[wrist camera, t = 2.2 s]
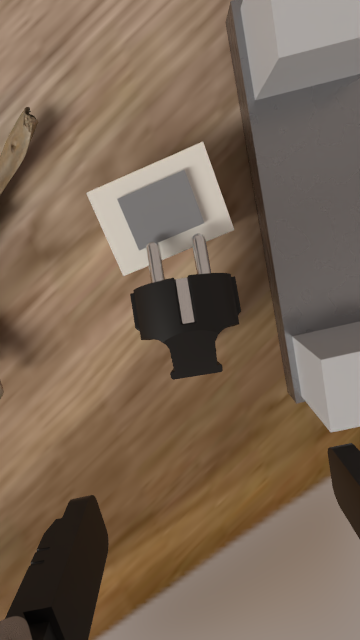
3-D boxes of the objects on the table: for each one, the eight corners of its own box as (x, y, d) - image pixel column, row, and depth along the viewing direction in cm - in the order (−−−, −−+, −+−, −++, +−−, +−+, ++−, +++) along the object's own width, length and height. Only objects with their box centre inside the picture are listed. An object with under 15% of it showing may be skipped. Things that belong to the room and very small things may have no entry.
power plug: (160, 368, 27) (136, 391, 15) (146, 277, 27) (111, 229, 15) (229, 357, 27) (260, 371, 15) (213, 266, 27) (231, 208, 15)
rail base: (225, 22, 22) (230, 0, 20) (347, -10, 21) (364, -35, 19) (287, 392, 28) (296, 403, 26) (382, 371, 28) (398, 381, 26)
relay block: (107, 204, 24) (84, 191, 18) (196, 165, 24) (203, 139, 18) (135, 267, 25) (122, 276, 19) (220, 232, 25) (235, 229, 19)
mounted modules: (240, 8, 20) (264, -75, 15) (356, -23, 20) (423, -119, 14) (301, 396, 26) (333, 436, 21) (391, 377, 26) (447, 412, 20)
